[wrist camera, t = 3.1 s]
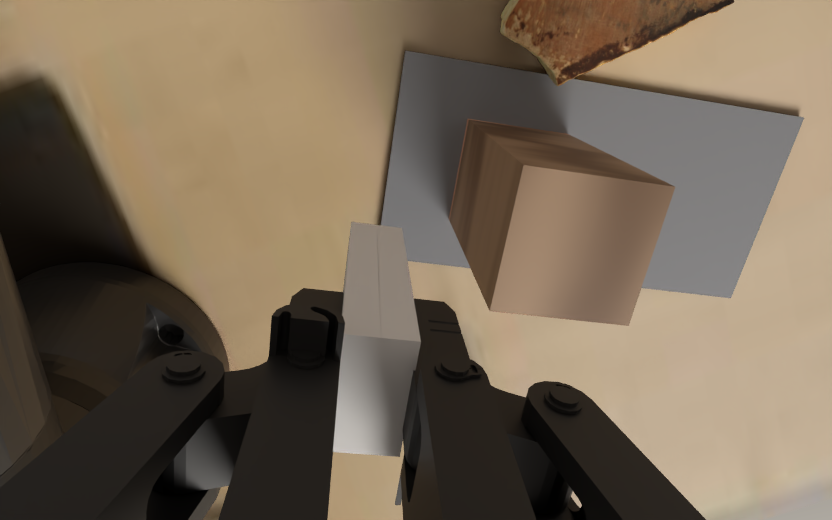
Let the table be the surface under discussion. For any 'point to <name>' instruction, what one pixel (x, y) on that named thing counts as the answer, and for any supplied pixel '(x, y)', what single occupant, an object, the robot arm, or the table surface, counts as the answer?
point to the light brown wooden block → (554, 223)
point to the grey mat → (606, 130)
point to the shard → (594, 29)
